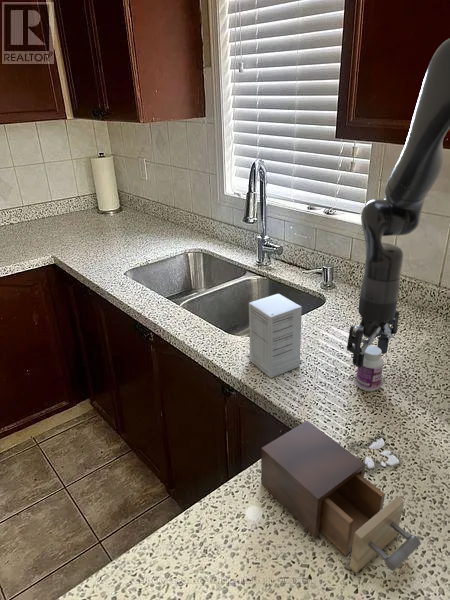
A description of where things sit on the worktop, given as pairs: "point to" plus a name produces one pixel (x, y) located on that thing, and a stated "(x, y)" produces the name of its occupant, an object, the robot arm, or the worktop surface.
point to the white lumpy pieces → (378, 445)
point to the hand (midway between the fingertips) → (369, 358)
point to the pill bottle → (370, 369)
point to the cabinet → (306, 471)
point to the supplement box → (275, 334)
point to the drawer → (364, 524)
